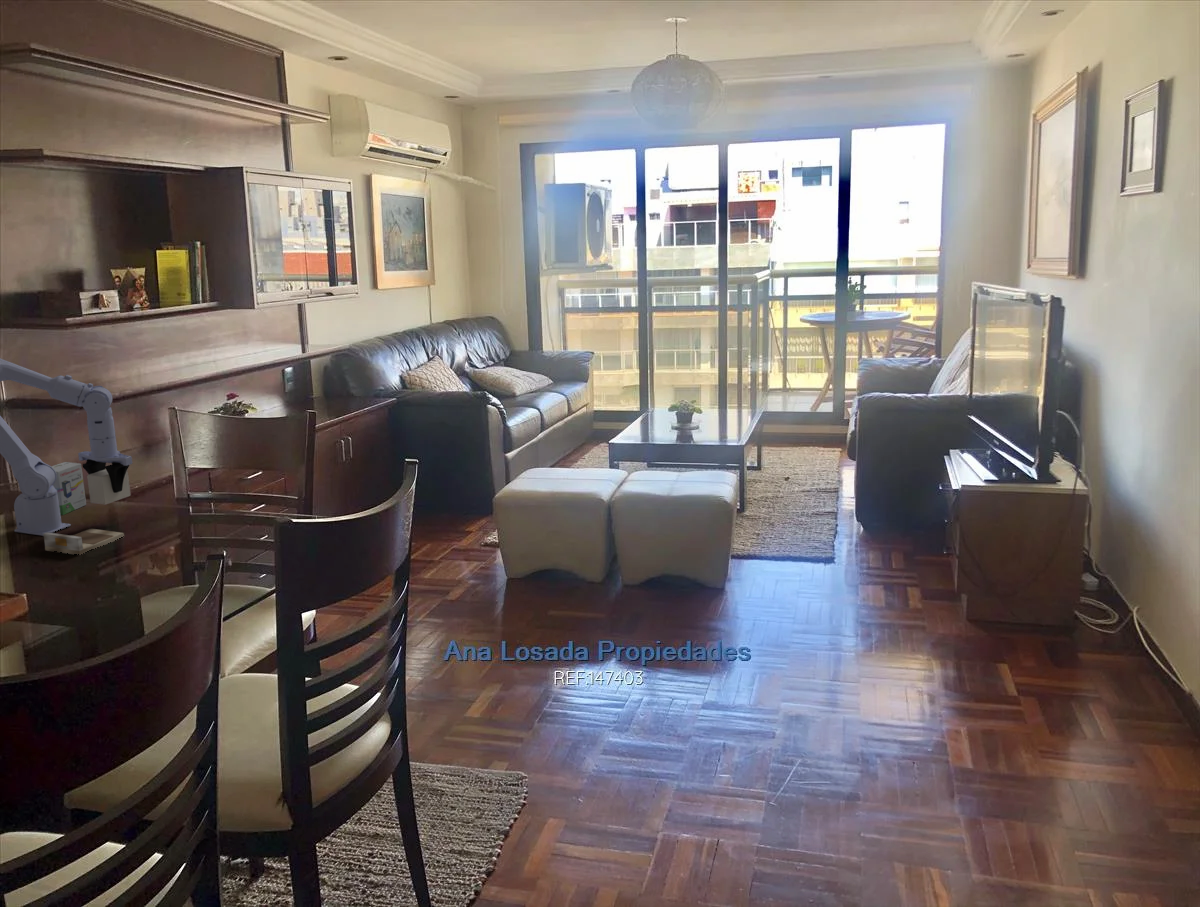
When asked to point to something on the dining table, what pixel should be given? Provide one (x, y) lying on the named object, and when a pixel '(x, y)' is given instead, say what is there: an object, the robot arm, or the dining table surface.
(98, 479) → the carton
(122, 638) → the dining table surface
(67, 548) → the cream tray
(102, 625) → the dining table surface
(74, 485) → the ink box
